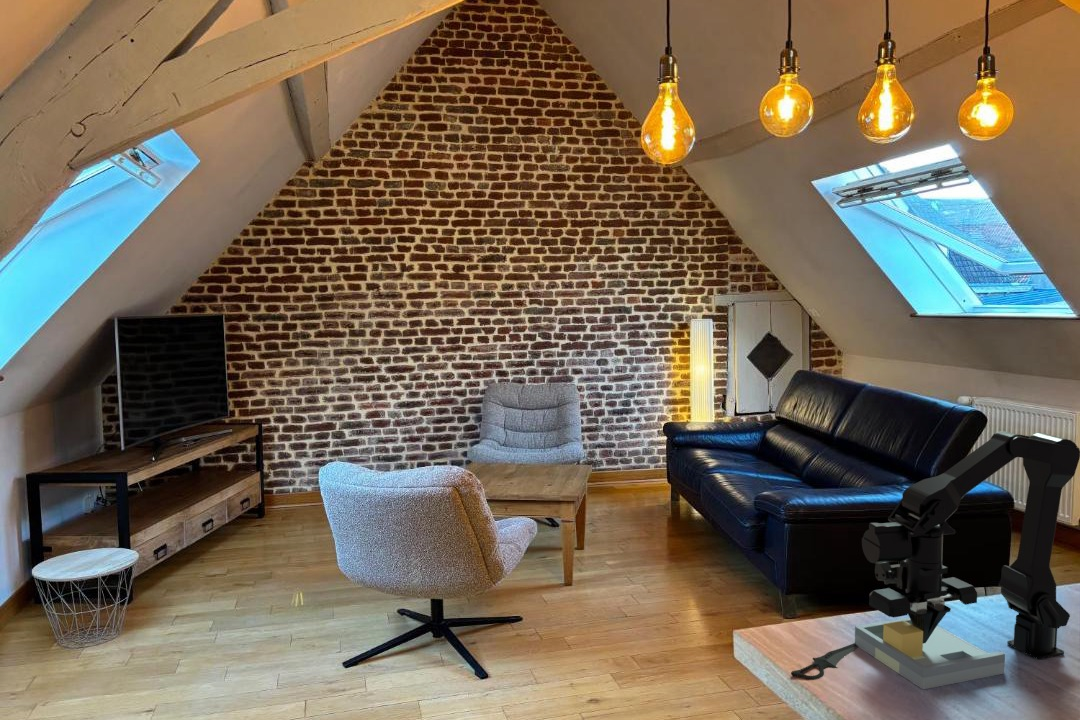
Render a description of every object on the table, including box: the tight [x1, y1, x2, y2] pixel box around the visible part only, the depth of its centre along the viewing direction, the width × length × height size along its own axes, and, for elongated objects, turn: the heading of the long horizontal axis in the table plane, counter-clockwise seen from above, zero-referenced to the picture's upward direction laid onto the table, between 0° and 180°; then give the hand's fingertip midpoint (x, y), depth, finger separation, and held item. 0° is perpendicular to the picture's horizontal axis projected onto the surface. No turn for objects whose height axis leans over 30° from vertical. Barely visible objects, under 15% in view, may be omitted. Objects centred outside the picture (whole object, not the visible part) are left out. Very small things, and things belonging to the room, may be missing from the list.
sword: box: [790, 642, 860, 681], centre depth 142 cm, size 27×4×1 cm, turn 127°
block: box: [883, 621, 923, 658], centre depth 138 cm, size 4×4×4 cm
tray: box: [854, 616, 1006, 690], centre depth 140 cm, size 17×17×4 cm
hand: (922, 642), depth 140 cm, fingers closed
